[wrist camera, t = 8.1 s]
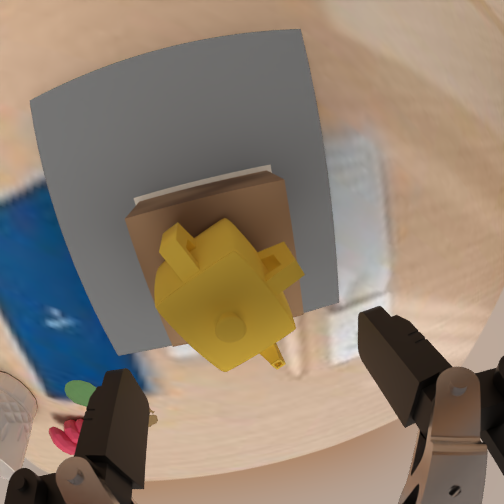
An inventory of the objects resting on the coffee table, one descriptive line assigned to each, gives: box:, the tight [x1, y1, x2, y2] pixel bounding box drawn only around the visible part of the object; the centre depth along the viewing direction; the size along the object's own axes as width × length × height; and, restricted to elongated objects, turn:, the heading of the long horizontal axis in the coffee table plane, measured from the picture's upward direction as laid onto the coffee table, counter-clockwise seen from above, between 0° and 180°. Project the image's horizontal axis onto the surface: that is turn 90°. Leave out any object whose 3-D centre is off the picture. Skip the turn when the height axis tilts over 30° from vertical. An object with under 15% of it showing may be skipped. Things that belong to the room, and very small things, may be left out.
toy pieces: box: [49, 380, 158, 455], centre depth 23 cm, size 12×11×4 cm
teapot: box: [154, 218, 305, 372], centre depth 13 cm, size 8×6×5 cm
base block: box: [125, 170, 304, 347], centre depth 17 cm, size 8×8×4 cm
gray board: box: [30, 29, 339, 356], centre depth 18 cm, size 18×20×1 cm
